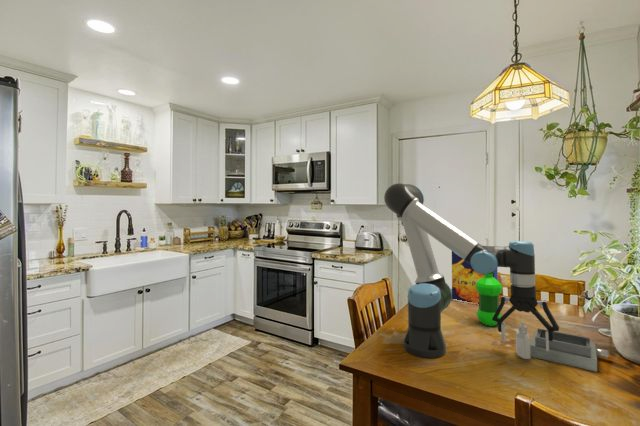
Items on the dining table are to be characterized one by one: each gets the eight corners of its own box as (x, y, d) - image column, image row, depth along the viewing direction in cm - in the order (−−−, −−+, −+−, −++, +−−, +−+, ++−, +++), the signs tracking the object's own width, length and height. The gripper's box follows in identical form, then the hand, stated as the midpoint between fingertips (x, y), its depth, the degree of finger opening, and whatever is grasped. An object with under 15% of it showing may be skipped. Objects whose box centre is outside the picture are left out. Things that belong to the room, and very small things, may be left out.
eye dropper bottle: (515, 357, 113) (515, 323, 113) (516, 351, 118) (515, 319, 118) (530, 360, 111) (530, 326, 111) (530, 354, 115) (530, 321, 115)
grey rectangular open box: (611, 375, 100) (611, 353, 100) (530, 356, 114) (529, 336, 114) (607, 356, 113) (607, 336, 113) (534, 341, 126) (534, 323, 126)
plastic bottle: (473, 324, 145) (472, 269, 145) (481, 318, 153) (480, 265, 152) (497, 330, 138) (497, 272, 138) (504, 323, 146) (504, 268, 145)
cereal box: (452, 300, 182) (451, 247, 182) (455, 298, 187) (455, 246, 186) (494, 308, 167) (494, 250, 167) (497, 305, 172) (497, 249, 171)
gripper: (566, 286, 109) (569, 349, 109) (486, 279, 125) (488, 334, 124) (566, 291, 103) (568, 357, 103) (482, 283, 119) (484, 341, 119)
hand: (524, 345), depth 114 cm, fingers open, 12 cm apart
